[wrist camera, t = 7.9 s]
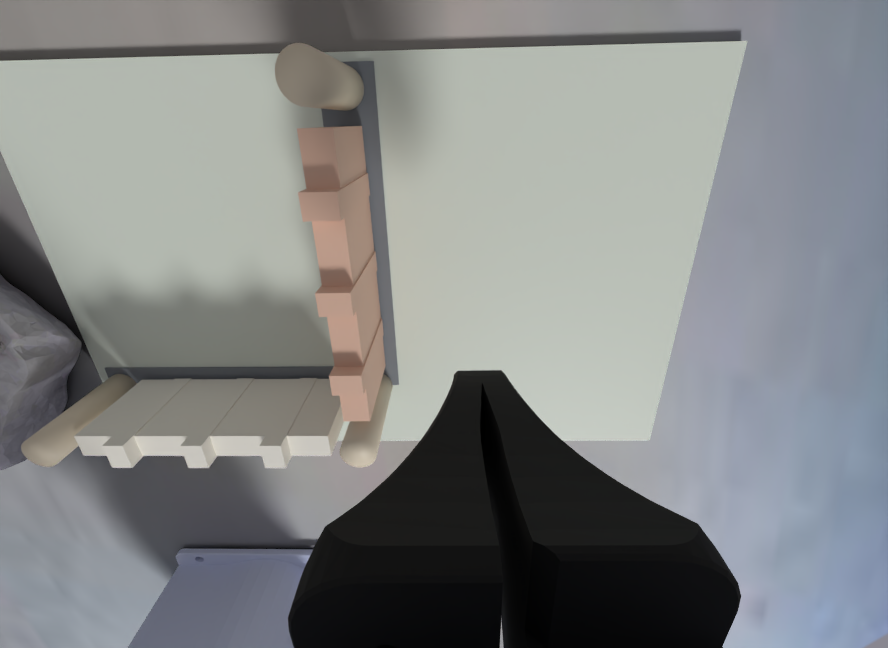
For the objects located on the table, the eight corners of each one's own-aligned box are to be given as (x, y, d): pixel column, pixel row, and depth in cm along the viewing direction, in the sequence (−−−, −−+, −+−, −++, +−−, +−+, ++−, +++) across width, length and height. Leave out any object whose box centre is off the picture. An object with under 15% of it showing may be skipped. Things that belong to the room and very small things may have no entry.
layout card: (132, 437, 22) (126, 442, 22) (-30, 63, 15) (-43, 61, 15) (647, 436, 22) (650, 442, 21) (741, 42, 14) (749, 40, 14)
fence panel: (389, 365, 19) (372, 431, 15) (359, 365, 19) (334, 432, 15) (361, 63, 14) (323, 39, 10) (320, 64, 14) (265, 42, 10)
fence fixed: (120, 393, 21) (26, 470, 16) (110, 369, 21) (9, 442, 16) (394, 392, 21) (377, 471, 16) (392, 368, 20) (373, 442, 16)
